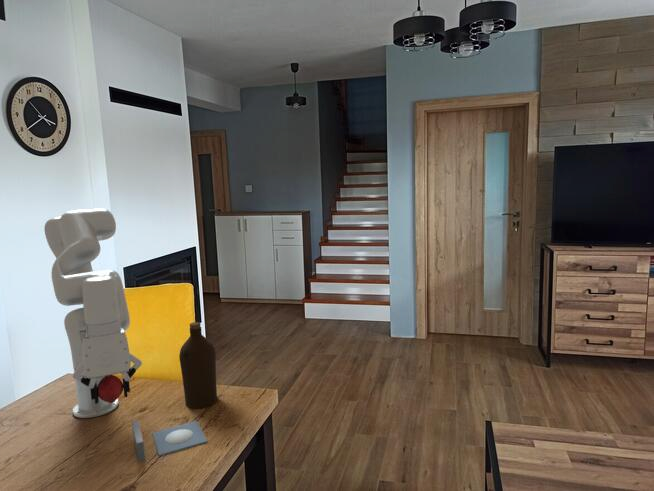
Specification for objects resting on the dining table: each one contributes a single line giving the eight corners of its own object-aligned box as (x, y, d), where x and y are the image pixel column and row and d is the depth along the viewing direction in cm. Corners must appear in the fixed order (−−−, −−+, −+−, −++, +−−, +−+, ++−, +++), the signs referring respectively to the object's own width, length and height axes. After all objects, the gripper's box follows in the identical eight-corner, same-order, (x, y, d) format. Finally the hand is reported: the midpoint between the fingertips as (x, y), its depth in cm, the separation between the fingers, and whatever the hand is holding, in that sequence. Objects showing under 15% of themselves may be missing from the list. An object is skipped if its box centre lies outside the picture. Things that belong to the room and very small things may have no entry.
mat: (152, 434, 126) (152, 432, 126) (197, 421, 132) (197, 420, 132) (159, 456, 116) (158, 454, 116) (207, 442, 121) (207, 440, 121)
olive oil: (216, 408, 139) (210, 327, 136) (180, 411, 138) (172, 330, 135) (221, 392, 150) (215, 317, 146) (187, 395, 149) (180, 319, 145)
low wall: (133, 439, 124) (131, 421, 123) (139, 437, 125) (137, 420, 124) (138, 462, 114) (136, 443, 113) (145, 460, 114) (143, 441, 113)
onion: (113, 409, 111) (110, 378, 110) (93, 407, 113) (89, 376, 112) (129, 398, 117) (126, 368, 116) (109, 396, 118) (106, 366, 117)
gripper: (61, 338, 105) (71, 413, 108) (143, 325, 112) (150, 396, 115) (63, 329, 112) (72, 400, 114) (140, 317, 119) (147, 384, 122)
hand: (111, 397), depth 115 cm, fingers closed on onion, 5 cm apart
